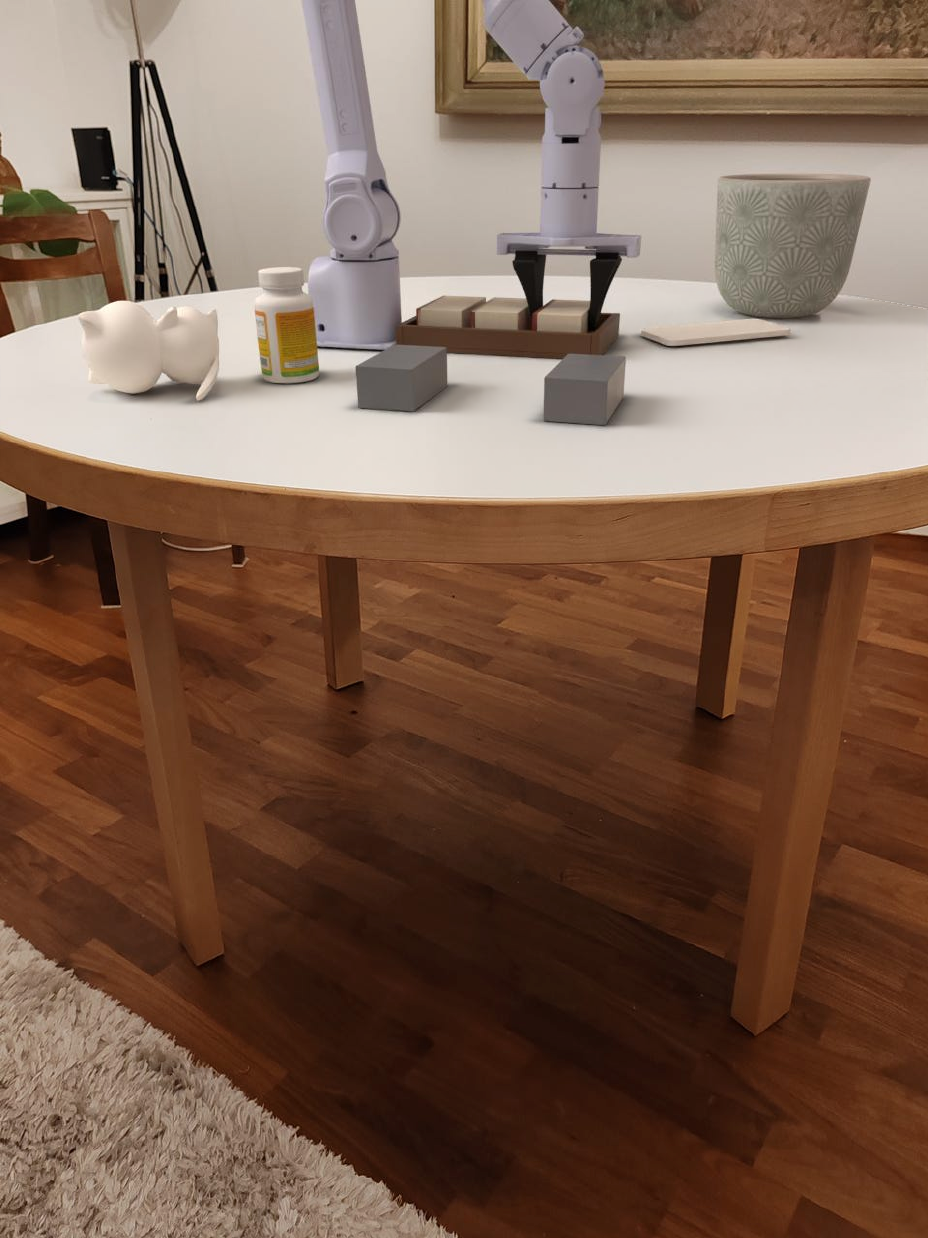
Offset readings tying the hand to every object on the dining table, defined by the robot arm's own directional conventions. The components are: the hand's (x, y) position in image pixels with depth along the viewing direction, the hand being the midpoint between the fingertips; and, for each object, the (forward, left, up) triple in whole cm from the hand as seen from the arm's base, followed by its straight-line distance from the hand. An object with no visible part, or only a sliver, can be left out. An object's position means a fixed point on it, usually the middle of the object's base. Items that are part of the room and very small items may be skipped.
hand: (565, 328), depth 100 cm
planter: (+21, +25, -2) cm, 33 cm away
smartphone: (+15, +8, -2) cm, 17 cm away
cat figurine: (-31, -29, -2) cm, 42 cm away
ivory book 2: (-7, 0, -1) cm, 7 cm away
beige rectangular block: (0, 0, -1) cm, 1 cm away
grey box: (+7, -25, -2) cm, 26 cm away
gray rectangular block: (-9, -25, -2) cm, 26 cm away
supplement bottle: (-22, -21, -2) cm, 30 cm away
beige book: (-13, 0, -1) cm, 13 cm away
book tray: (-6, 0, -2) cm, 6 cm away
